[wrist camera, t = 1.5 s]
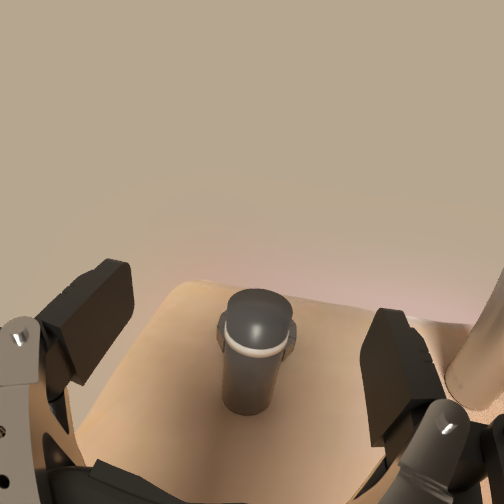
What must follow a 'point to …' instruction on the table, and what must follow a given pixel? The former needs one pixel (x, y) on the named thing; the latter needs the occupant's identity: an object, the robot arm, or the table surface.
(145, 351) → the table surface
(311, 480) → the table surface
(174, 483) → the table surface
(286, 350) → the block ring
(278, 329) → the dark grey canister
